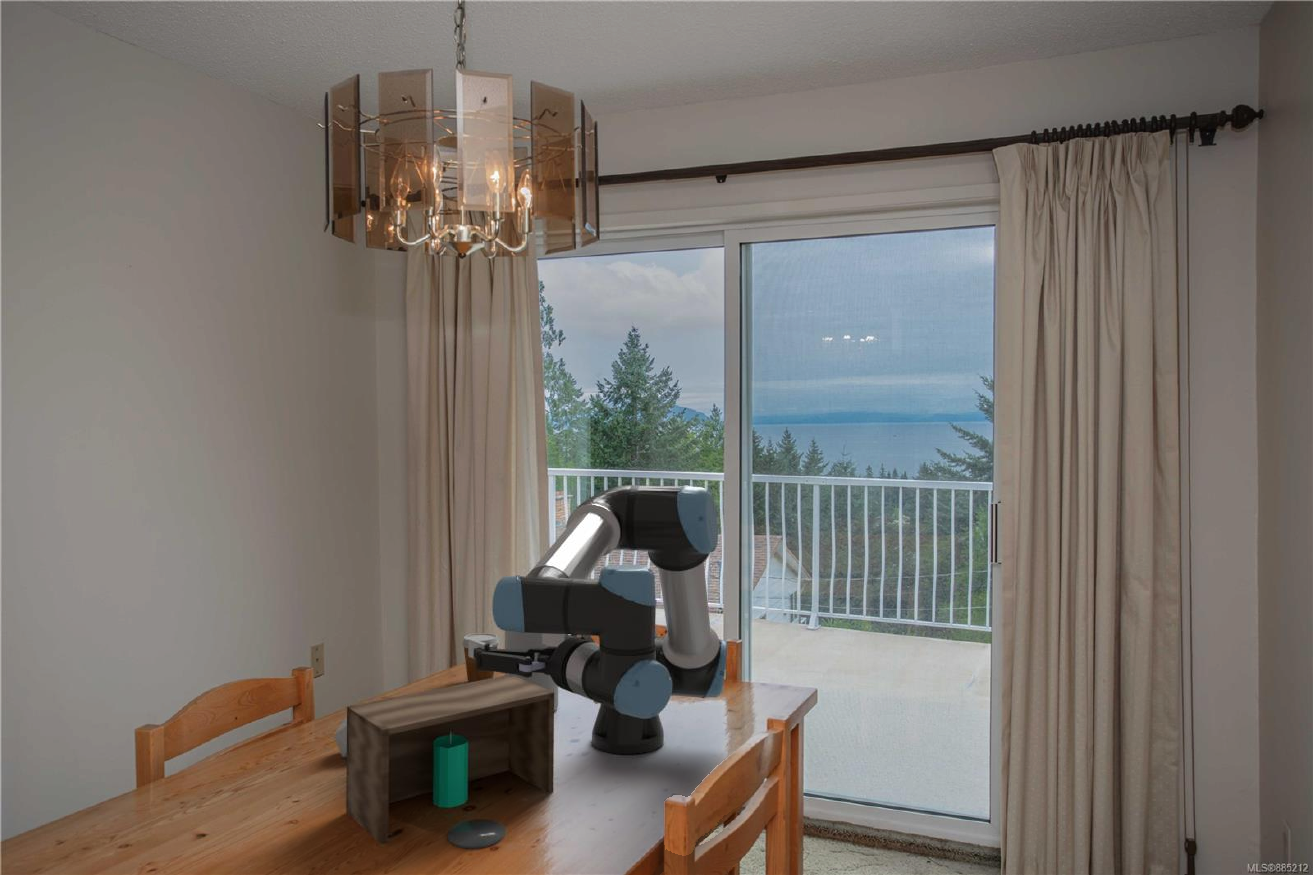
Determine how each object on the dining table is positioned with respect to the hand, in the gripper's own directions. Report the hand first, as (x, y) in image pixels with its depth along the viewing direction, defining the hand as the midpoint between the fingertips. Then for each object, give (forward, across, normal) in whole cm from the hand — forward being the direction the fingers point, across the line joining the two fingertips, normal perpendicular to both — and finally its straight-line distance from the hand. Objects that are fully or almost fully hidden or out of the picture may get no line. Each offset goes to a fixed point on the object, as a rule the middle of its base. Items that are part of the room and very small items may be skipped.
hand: (508, 641), depth 141 cm
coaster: (+2, -4, -31) cm, 31 cm away
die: (+49, -5, -31) cm, 58 cm away
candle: (+18, -1, -31) cm, 36 cm away
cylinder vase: (+52, +37, -31) cm, 71 cm away
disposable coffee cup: (+79, +39, -31) cm, 93 cm away
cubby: (+16, -1, -31) cm, 35 cm away
